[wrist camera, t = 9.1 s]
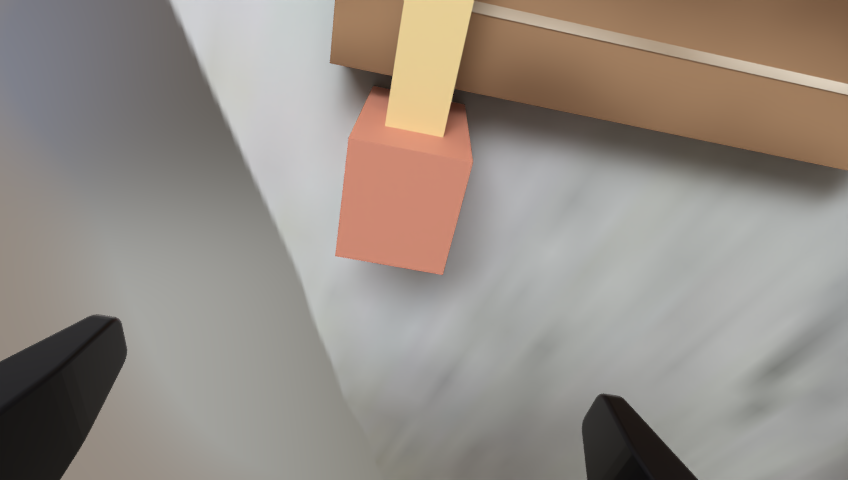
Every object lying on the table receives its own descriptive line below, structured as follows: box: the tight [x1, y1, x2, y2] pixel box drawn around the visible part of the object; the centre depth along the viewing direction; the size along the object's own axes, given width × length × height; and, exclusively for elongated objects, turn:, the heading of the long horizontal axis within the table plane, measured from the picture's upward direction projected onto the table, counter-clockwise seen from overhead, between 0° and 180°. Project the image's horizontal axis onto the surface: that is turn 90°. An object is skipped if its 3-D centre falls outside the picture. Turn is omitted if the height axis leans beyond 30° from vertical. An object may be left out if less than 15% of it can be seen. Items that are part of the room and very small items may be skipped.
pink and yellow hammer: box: [335, 0, 474, 275], centre depth 14 cm, size 13×4×6 cm, turn 169°
